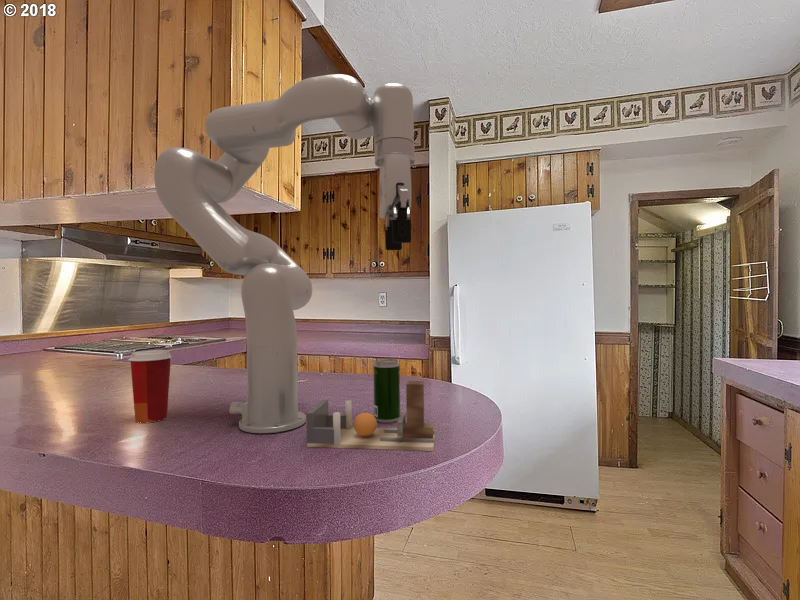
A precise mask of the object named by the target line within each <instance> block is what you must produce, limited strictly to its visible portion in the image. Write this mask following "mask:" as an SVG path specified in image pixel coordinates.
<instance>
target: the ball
mask: <svg viewBox="0 0 800 600" xmlns="http://www.w3.org/2000/svg"><path fill="white" fill-rule="evenodd" d="M377 426H378V423H377V421H376V419H375V417H374V414H372V413H370V412H362V413H359V414H358V415H357V416H355V419H354V421H353V427H354V429H355V431H356V432H357V433H358V434H359V435H361V436H369V435H371V434H373V433H374V431H375V430H376V428H378V427H377Z"/></svg>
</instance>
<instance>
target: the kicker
mask: <svg viewBox="0 0 800 600" xmlns="http://www.w3.org/2000/svg"><path fill="white" fill-rule="evenodd" d="M405 388H406V400H405V401H406V405H405V406H406V411H405V412H403V411H402V412H401V411H400V417H399V419H398V421H396V423H397V424H396V425H397V427H396V428H397V438H402V437H403V438H433V429H434V423H430V422H427V423H426V422H425V381H424V380H408V381H407V382H406V384H405Z"/></svg>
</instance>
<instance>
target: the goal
mask: <svg viewBox="0 0 800 600" xmlns="http://www.w3.org/2000/svg"><path fill="white" fill-rule="evenodd" d="M352 403H353V402H352V400H351V399H350V400H349V399H347V400H345V401H344V409H345V410H344V411H345V412H344V413H341V412H340V411H335V412H332V413H329V399H322V400H321V401H320V402H319V403H317V404H316V405H315V406H314V407H312V408H311V409H310V410H309V411H307V412H306V414H305V415H306V444H307V443H316V444H340V443H341V435H340V429H351V428H352V427H353V418H352V417H353V412H352V411H353V410H352V409H353V408H352V407H353V405H352Z"/></svg>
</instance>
